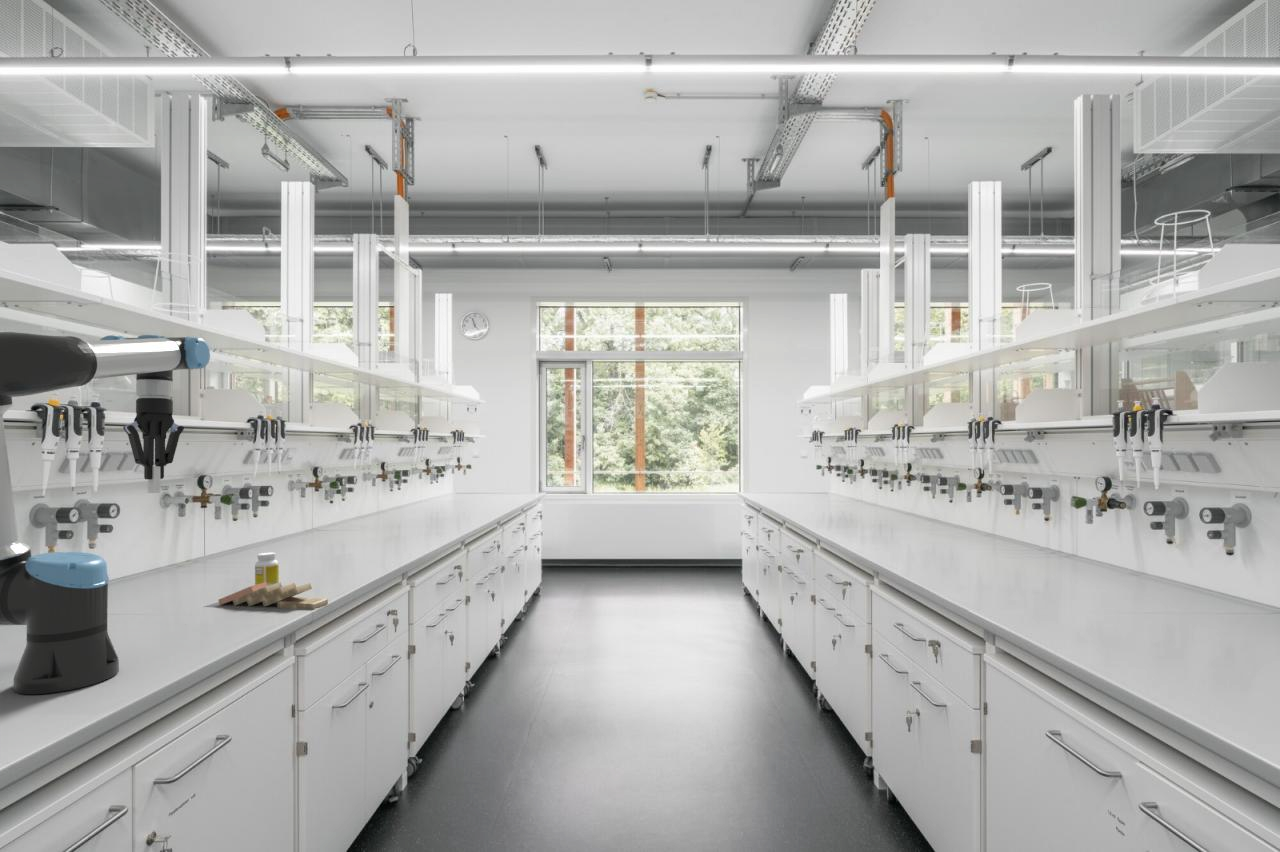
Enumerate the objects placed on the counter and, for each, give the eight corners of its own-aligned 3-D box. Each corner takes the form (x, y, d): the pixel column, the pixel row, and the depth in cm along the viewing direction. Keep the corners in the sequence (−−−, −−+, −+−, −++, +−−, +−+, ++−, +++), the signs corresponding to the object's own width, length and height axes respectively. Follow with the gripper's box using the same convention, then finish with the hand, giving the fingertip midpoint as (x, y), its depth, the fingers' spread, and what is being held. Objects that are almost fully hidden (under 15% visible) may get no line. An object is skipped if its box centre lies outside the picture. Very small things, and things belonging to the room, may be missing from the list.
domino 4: (262, 601, 182) (296, 587, 180) (276, 596, 188) (310, 583, 186) (264, 606, 182) (298, 593, 180) (278, 601, 188) (312, 588, 186)
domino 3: (246, 600, 183) (280, 587, 181) (261, 596, 189) (294, 582, 187) (248, 606, 183) (282, 592, 181) (263, 601, 188) (296, 588, 186)
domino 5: (277, 601, 181) (314, 604, 179) (291, 596, 187) (327, 599, 185) (277, 607, 181) (314, 610, 179) (291, 602, 187) (327, 605, 185)
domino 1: (218, 599, 185) (251, 586, 183) (234, 595, 190) (266, 581, 188) (220, 605, 185) (253, 591, 183) (235, 600, 190) (268, 587, 188)
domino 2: (232, 600, 184) (265, 586, 182) (248, 595, 189) (280, 582, 187) (234, 605, 184) (267, 592, 182) (249, 601, 189) (282, 587, 187)
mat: (203, 607, 184) (203, 606, 184) (229, 599, 193) (229, 598, 193) (275, 610, 179) (275, 609, 179) (299, 602, 188) (298, 601, 188)
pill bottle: (280, 587, 208) (280, 551, 208) (276, 592, 202) (276, 554, 202) (257, 589, 206) (257, 552, 206) (252, 594, 200) (252, 555, 200)
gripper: (174, 400, 179) (173, 490, 178) (117, 397, 168) (116, 494, 167) (190, 398, 176) (190, 491, 175) (133, 395, 164) (132, 494, 163)
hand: (154, 492), depth 171 cm, fingers closed
